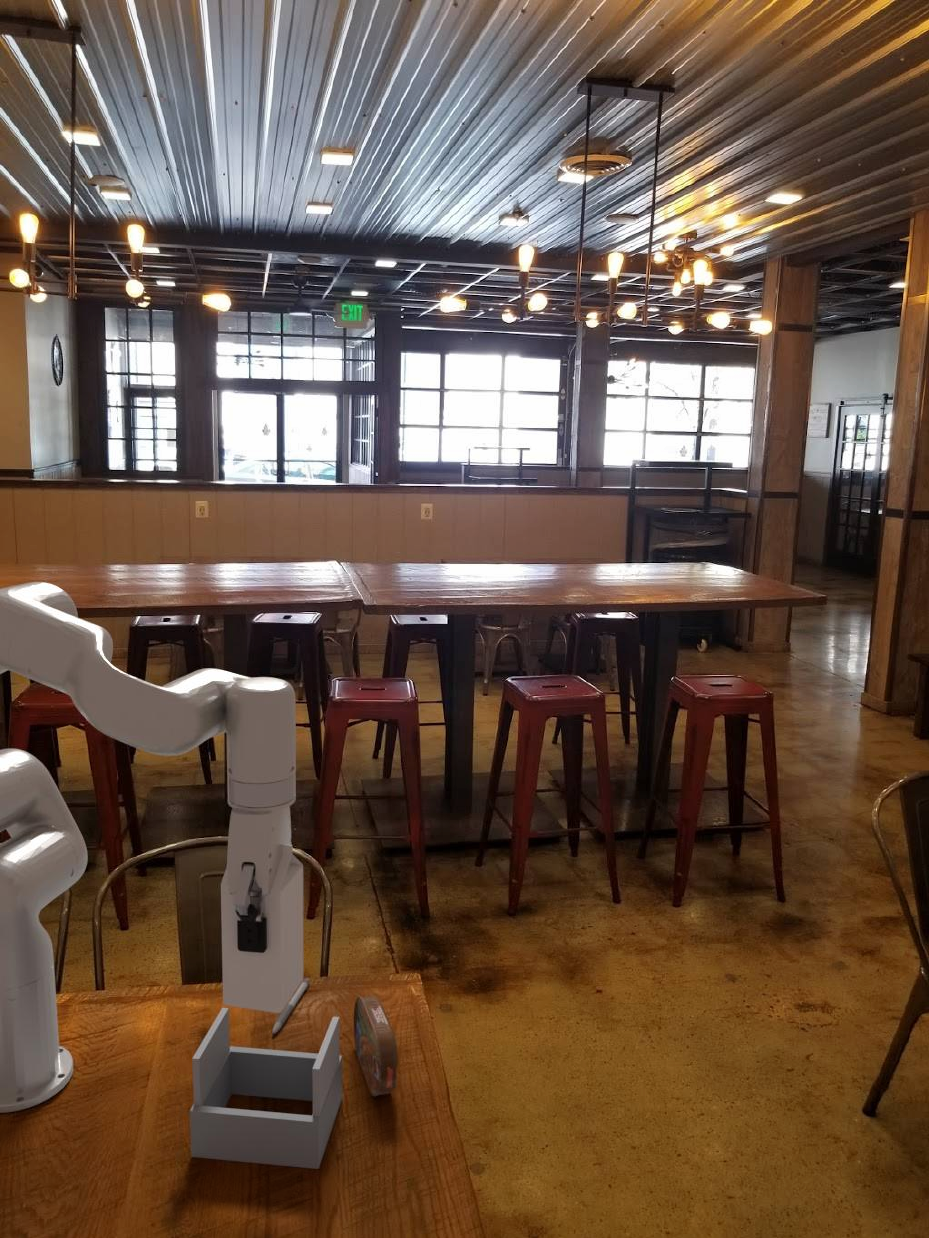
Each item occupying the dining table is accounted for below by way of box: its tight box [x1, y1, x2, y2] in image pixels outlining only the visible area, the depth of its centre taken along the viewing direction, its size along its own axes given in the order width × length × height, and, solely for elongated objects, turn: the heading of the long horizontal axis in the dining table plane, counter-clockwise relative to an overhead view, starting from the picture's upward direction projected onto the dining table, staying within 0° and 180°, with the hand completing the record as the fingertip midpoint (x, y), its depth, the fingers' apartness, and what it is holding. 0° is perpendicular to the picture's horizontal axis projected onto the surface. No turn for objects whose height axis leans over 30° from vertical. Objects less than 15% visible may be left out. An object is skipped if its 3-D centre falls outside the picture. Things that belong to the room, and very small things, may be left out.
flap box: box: [189, 1007, 343, 1170], centre depth 115 cm, size 15×12×12 cm
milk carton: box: [220, 844, 304, 1014], centre depth 111 cm, size 7×7×19 cm
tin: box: [353, 995, 399, 1097], centre depth 126 cm, size 15×3×8 cm, turn 18°
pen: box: [271, 977, 310, 1034], centre depth 140 cm, size 1×14×1 cm, turn 169°
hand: (263, 931), depth 111 cm, fingers closed on milk carton, 7 cm apart
